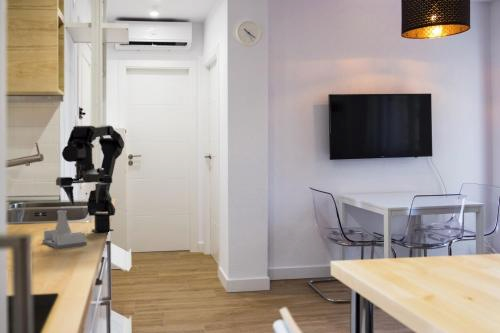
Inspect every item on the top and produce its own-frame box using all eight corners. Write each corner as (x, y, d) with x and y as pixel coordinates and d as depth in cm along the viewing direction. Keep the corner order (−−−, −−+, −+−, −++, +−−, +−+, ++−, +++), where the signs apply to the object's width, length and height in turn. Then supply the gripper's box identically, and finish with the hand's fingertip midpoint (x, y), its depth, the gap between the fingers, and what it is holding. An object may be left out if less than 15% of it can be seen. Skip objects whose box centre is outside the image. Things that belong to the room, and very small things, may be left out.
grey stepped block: (42, 242, 182) (42, 230, 182) (71, 238, 188) (71, 227, 188) (56, 248, 171) (56, 236, 171) (86, 244, 178) (86, 232, 177)
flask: (77, 238, 184) (76, 209, 184) (68, 242, 177) (67, 212, 177) (57, 238, 185) (56, 209, 185) (47, 241, 178) (46, 212, 177)
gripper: (66, 162, 177) (67, 208, 178) (118, 160, 189) (119, 204, 190) (54, 161, 186) (56, 205, 187) (105, 159, 198) (106, 201, 198)
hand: (85, 204), depth 190 cm, fingers open, 9 cm apart
